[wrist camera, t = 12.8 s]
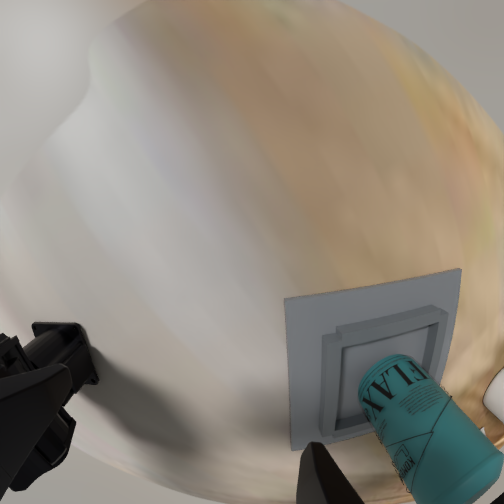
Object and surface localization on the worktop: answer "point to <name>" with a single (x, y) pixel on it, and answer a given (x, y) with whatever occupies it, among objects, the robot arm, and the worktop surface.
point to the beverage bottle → (428, 434)
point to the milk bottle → (496, 396)
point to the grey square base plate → (361, 347)
